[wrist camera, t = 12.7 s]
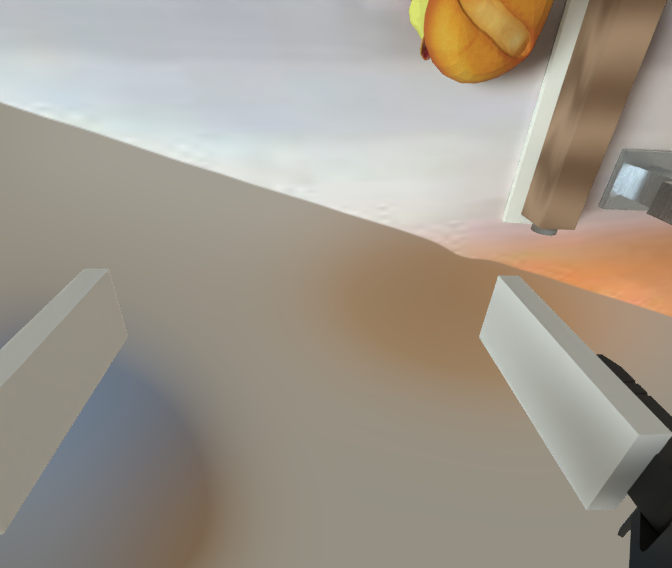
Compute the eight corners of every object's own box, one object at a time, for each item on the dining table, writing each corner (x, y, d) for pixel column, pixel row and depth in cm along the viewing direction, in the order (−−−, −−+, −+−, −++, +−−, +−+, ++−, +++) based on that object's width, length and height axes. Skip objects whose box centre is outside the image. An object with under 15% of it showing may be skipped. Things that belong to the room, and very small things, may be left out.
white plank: (599, -111, 28) (605, -114, 28) (685, -101, 29) (692, -104, 28) (502, 220, 42) (504, 222, 41) (562, 222, 42) (565, 224, 42)
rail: (624, -112, 28) (669, -135, 25) (668, -106, 28) (718, -129, 25) (518, 223, 41) (537, 238, 38) (548, 224, 42) (570, 239, 38)
